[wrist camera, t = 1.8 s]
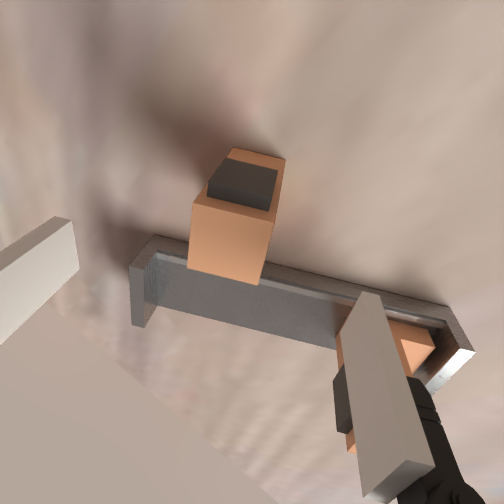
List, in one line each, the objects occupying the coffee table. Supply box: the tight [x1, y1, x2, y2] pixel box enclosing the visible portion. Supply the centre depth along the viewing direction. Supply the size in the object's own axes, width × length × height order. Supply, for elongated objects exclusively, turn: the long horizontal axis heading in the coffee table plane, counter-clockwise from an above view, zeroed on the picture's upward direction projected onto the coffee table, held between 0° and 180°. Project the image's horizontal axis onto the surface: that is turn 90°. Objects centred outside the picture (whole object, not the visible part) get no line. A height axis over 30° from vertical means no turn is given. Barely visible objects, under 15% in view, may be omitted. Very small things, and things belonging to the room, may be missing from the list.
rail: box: [129, 235, 475, 396], centre depth 28 cm, size 7×28×5 cm, turn 79°
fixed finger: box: [333, 311, 435, 454], centre depth 24 cm, size 4×8×10 cm, turn 79°
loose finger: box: [187, 148, 286, 286], centre depth 20 cm, size 4×8×10 cm, turn 169°
